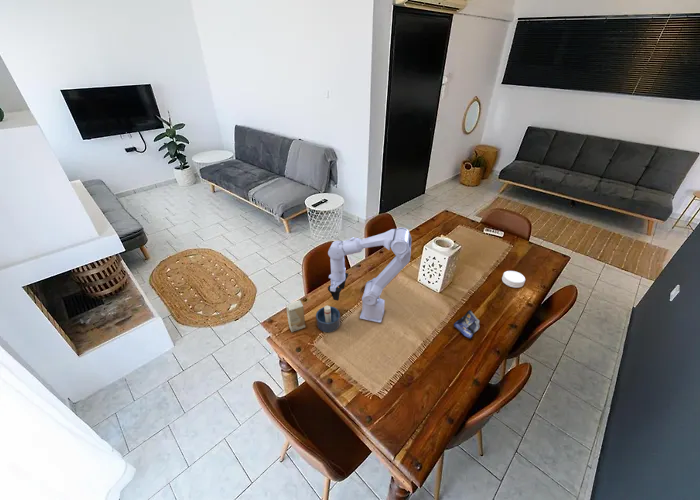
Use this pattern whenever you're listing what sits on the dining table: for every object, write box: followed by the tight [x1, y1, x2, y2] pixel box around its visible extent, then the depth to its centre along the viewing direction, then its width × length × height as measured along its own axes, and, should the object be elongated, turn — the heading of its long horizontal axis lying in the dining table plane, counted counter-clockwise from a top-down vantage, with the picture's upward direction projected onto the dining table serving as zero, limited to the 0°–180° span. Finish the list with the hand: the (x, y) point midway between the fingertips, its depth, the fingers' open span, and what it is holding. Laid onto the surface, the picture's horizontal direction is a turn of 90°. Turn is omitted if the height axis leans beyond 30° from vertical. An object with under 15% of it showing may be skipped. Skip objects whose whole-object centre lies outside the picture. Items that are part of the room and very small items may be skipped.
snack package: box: [453, 309, 481, 340], centre depth 124 cm, size 12×6×12 cm
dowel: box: [323, 304, 331, 323], centre depth 126 cm, size 3×3×8 cm
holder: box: [315, 305, 341, 333], centre depth 128 cm, size 10×10×5 cm
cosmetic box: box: [285, 299, 306, 333], centre depth 124 cm, size 6×4×12 cm
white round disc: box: [501, 270, 526, 289], centre depth 150 cm, size 10×10×4 cm
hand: (338, 293), depth 131 cm, fingers open, 7 cm apart
